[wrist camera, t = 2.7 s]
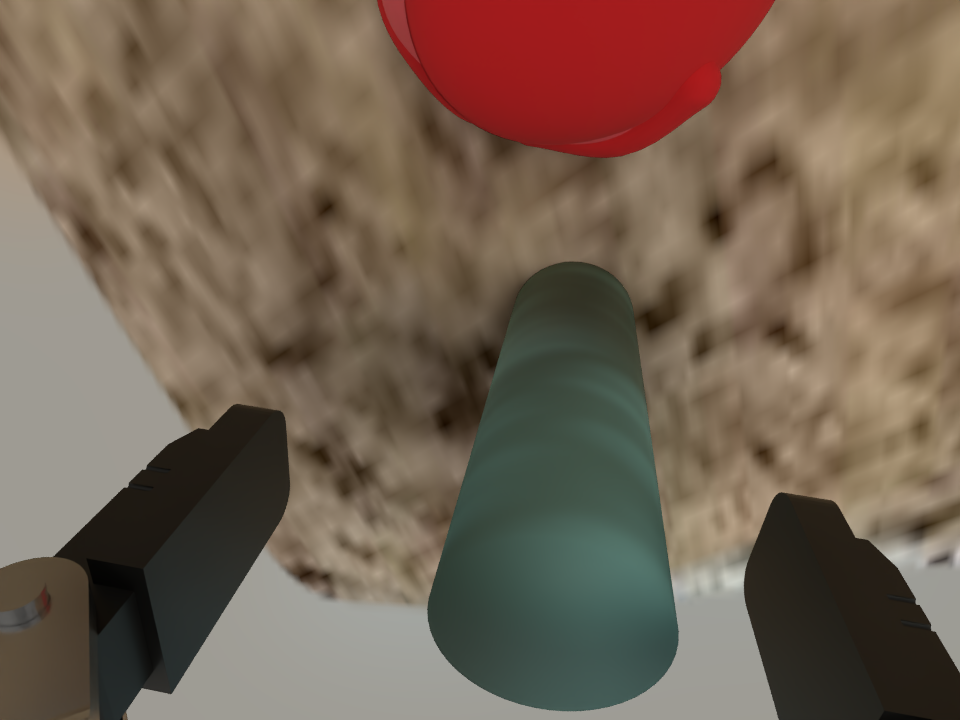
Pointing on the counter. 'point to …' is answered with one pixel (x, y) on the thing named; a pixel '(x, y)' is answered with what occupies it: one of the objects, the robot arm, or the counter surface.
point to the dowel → (560, 512)
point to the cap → (573, 64)
